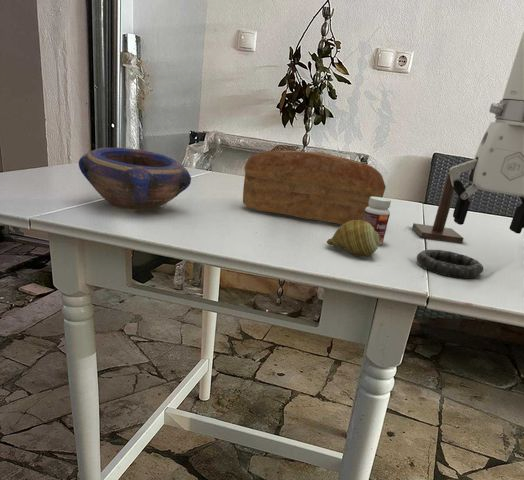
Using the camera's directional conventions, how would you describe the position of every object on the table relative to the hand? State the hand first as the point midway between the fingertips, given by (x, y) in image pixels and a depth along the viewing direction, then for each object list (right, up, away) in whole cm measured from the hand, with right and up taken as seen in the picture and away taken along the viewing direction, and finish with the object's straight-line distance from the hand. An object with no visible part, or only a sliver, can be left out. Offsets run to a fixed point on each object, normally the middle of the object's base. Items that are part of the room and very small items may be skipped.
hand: (486, 227), depth 85 cm
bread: (-28, +9, +28) cm, 41 cm away
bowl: (-63, +8, +16) cm, 65 cm away
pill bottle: (-16, 0, +14) cm, 22 cm away
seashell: (-22, -3, +5) cm, 23 cm away
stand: (+1, +5, +28) cm, 28 cm away
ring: (-5, -5, +3) cm, 8 cm away
